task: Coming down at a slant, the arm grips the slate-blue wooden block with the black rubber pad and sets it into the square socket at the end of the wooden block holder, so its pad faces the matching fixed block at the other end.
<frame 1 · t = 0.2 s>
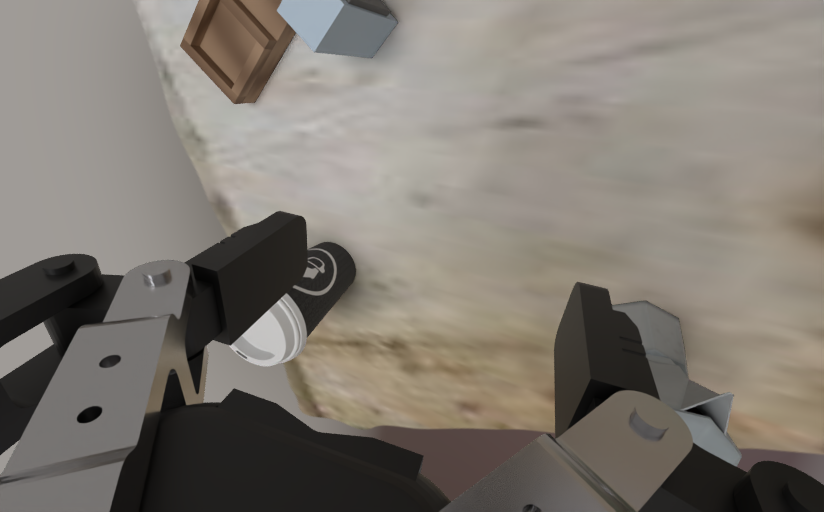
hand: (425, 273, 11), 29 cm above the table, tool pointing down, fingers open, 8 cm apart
coffee maker: (627, 343, 40), on the table
coffee cup: (333, 265, 50), on the table
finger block: (370, 24, 36), on the table
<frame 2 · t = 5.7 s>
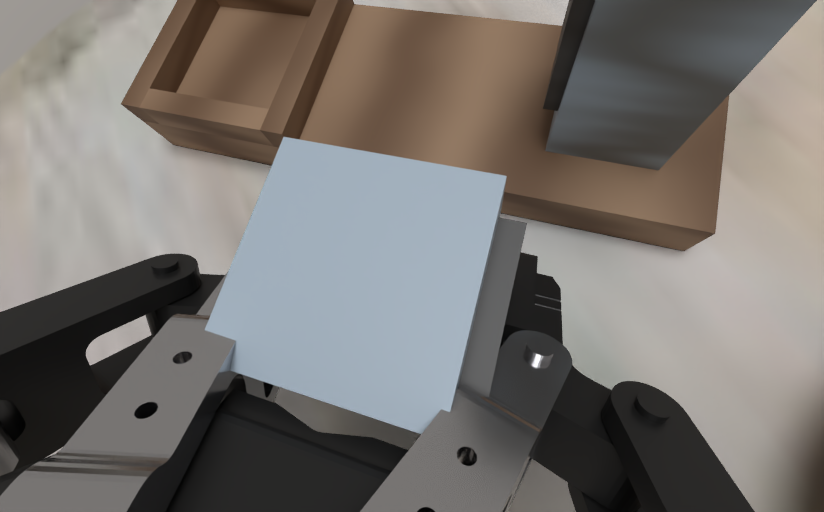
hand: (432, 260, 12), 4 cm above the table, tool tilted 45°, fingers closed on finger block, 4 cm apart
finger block: (425, 332, 16), on the table, touching gripper
wooden block holder: (416, 115, 19), on the table
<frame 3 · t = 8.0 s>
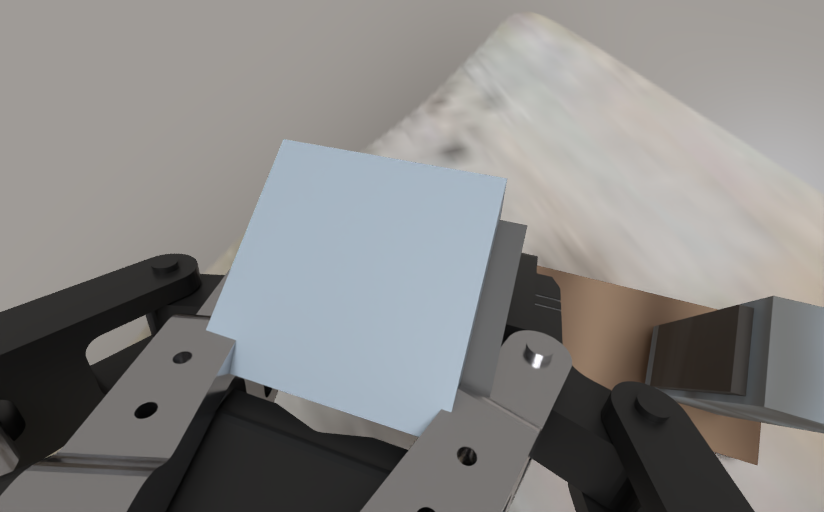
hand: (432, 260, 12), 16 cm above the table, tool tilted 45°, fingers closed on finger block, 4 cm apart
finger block: (425, 333, 16), point 12 cm above the table, touching gripper
wooden block holder: (541, 333, 27), on the table
when the fingers open (8 cm above the table, at t = 10.7 s): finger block drops 2 cm, resting on wooden block holder.
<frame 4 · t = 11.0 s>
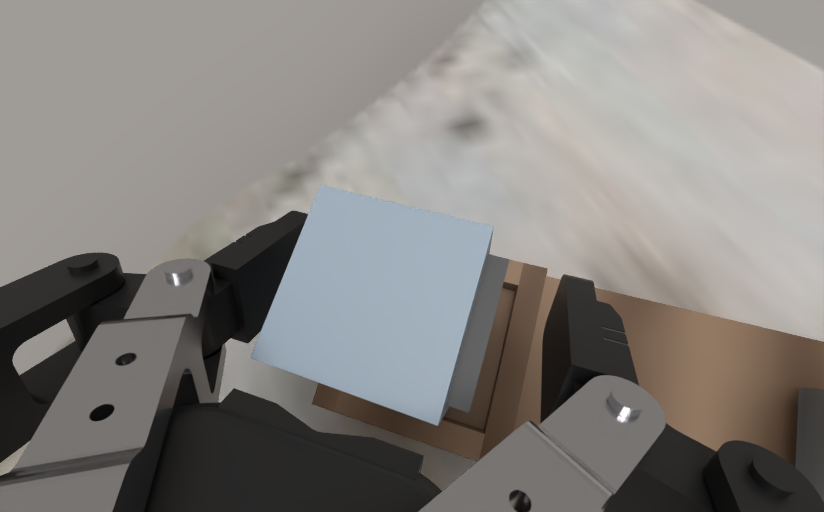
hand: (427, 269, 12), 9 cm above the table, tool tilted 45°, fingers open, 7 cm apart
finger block: (425, 336, 17), point 2 cm above the table, touching wooden block holder
wooden block holder: (607, 390, 18), on the table
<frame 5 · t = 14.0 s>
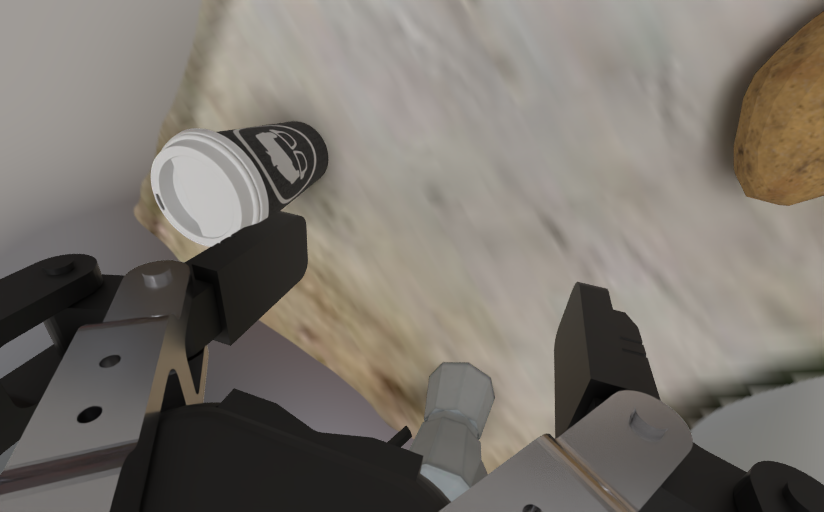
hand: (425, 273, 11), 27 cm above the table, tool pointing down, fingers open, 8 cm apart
coffee maker: (453, 385, 51), on the table
coffee cup: (301, 152, 42), on the table
potato: (798, 93, 28), on the table
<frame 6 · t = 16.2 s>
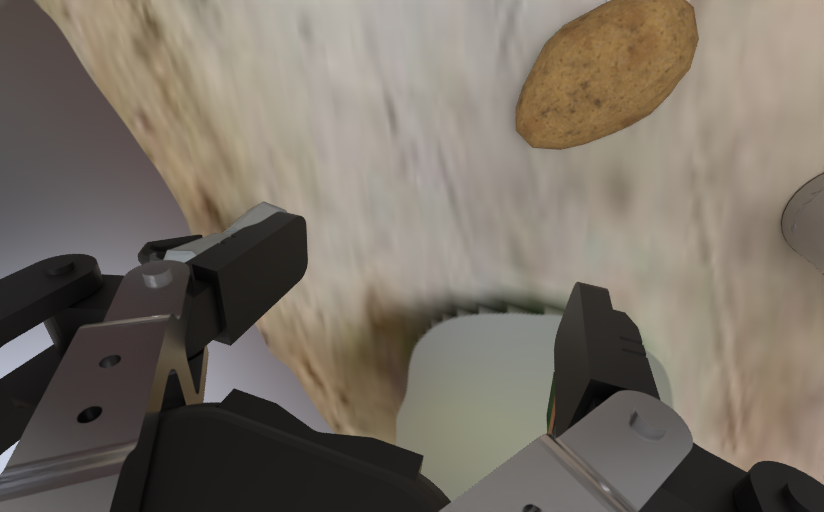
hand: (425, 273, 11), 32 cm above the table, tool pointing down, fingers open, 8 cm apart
coffee maker: (266, 227, 55), on the table
whiskey bottle: (591, 400, 52), on the table
potato: (590, 75, 35), on the table
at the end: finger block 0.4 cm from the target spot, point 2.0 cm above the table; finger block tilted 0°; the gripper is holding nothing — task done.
